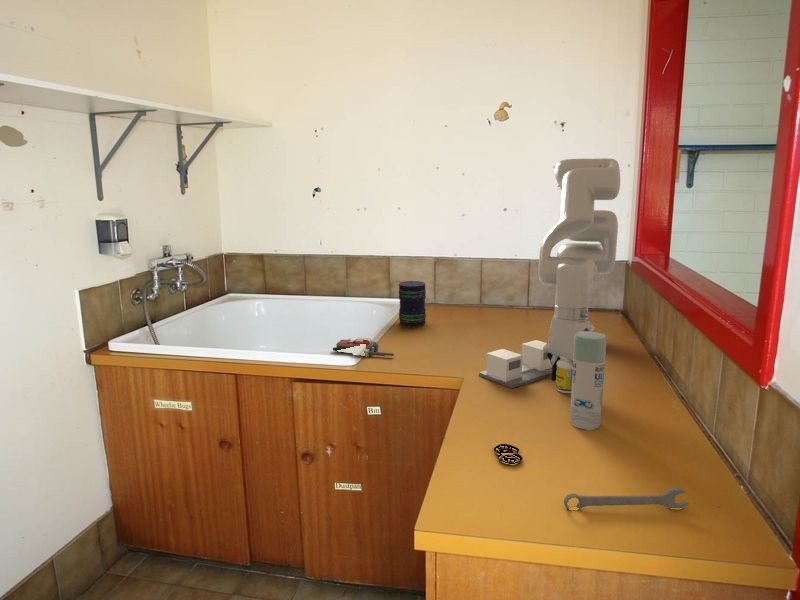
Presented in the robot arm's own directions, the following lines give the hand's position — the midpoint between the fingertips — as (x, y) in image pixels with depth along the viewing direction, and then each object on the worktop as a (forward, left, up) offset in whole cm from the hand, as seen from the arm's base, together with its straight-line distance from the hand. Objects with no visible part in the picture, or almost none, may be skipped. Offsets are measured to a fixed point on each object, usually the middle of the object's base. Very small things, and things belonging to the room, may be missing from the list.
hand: (566, 382), depth 142 cm
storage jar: (-10, -76, -2) cm, 77 cm away
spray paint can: (+13, +15, -2) cm, 20 cm away
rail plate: (0, -15, -2) cm, 15 cm away
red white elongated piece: (+23, -58, -3) cm, 62 cm away
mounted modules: (0, -15, -1) cm, 15 cm away
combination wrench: (+35, +39, -2) cm, 52 cm away
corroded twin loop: (+37, +15, -3) cm, 40 cm away
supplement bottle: (0, 0, -2) cm, 2 cm away
